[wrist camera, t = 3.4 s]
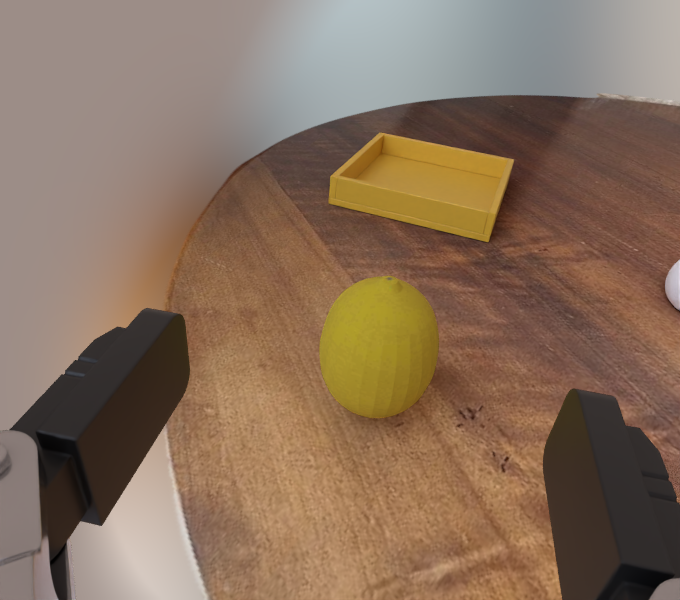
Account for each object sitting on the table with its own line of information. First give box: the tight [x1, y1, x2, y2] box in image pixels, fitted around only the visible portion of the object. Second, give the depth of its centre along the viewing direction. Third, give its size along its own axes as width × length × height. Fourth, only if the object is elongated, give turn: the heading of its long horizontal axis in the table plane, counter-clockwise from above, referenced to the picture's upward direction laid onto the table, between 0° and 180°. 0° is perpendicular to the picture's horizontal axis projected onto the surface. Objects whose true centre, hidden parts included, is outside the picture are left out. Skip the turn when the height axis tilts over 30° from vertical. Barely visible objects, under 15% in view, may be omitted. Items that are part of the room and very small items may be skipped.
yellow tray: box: [329, 133, 514, 242], centre depth 50 cm, size 14×14×3 cm
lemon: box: [319, 276, 439, 418], centre depth 25 cm, size 6×6×8 cm
